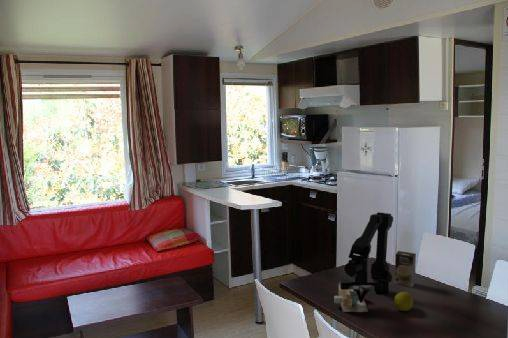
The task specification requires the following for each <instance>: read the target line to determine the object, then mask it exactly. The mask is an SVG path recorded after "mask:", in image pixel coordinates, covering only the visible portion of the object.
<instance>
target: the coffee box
mask: <svg viewBox="0 0 508 338" xmlns="http://www.w3.org/2000/svg"><path fill="white" fill-rule="evenodd" d="M416 254H417V253H415V252H414V253H413V252H409V251H401V250H398V251H397V252H396V253H395V265H394V267H395V268H394V284H395V285H400V286H403V287H404V286H406V287H410V288H413V286H414V285H415V283H416V258H417V255H416Z"/></svg>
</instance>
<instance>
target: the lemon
mask: <svg viewBox="0 0 508 338" xmlns="http://www.w3.org/2000/svg"><path fill="white" fill-rule="evenodd" d="M393 300H394V302H393V303H394V305H395V307H396V309H398V310H399V311H400V312H406V311H407V312H408V311H409V310H411V309H412V308H413V306H414V298H413V296H412V294H410V293H409V292H406V291H402V292H399V293H397V294H396V295H395V296H394V299H393Z"/></svg>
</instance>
